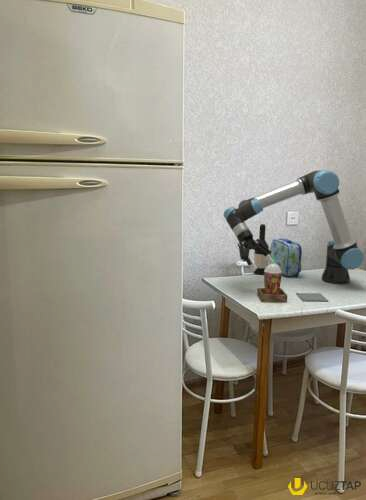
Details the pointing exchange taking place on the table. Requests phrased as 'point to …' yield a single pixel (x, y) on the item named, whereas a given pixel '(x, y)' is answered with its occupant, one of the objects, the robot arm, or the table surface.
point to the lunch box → (286, 256)
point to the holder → (271, 296)
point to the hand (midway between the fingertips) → (264, 268)
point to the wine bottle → (258, 257)
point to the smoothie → (272, 279)
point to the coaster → (312, 297)
